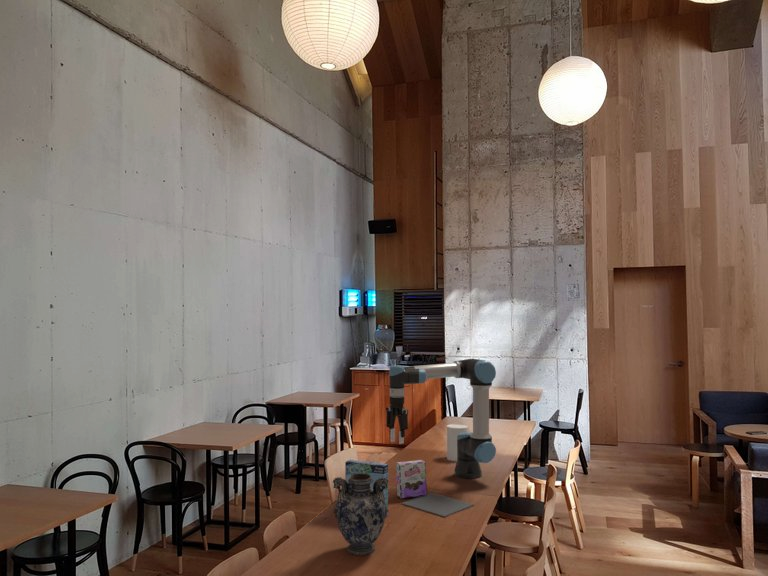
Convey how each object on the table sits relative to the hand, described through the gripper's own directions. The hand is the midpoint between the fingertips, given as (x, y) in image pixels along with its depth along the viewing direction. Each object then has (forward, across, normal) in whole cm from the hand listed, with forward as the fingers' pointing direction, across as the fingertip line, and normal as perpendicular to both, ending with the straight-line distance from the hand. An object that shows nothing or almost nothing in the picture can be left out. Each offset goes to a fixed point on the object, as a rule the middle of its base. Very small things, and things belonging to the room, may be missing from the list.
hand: (397, 442), depth 299 cm
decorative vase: (+25, +39, -62) cm, 77 cm away
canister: (+25, -19, +75) cm, 81 cm away
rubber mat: (+25, +27, -1) cm, 37 cm away
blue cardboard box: (+25, +12, -33) cm, 43 cm away
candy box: (+25, +10, 0) cm, 27 cm away
